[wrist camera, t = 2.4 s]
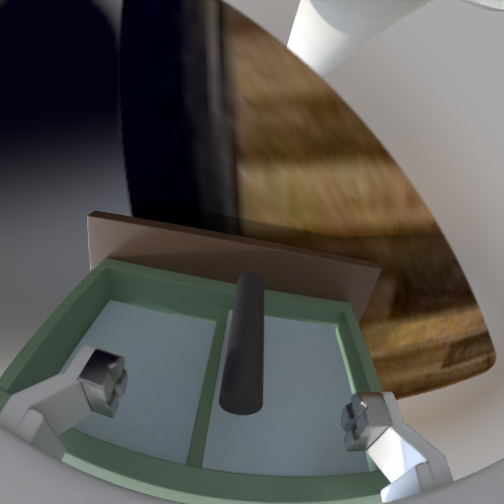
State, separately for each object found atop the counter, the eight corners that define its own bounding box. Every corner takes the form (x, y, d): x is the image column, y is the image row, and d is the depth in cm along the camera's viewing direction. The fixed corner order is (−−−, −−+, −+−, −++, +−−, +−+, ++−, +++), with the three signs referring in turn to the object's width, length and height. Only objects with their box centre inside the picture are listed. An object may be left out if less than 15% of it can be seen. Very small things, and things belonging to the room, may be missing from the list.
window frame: (95, 210, 19) (-64, 337, 5) (376, 261, 20) (482, 444, 6) (103, 316, 23) (21, 453, 9) (333, 359, 24) (363, 519, 10)
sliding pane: (229, 248, 17) (186, 415, 7) (355, 271, 17) (427, 423, 7) (218, 313, 19) (186, 469, 9) (331, 330, 19) (364, 476, 9)
